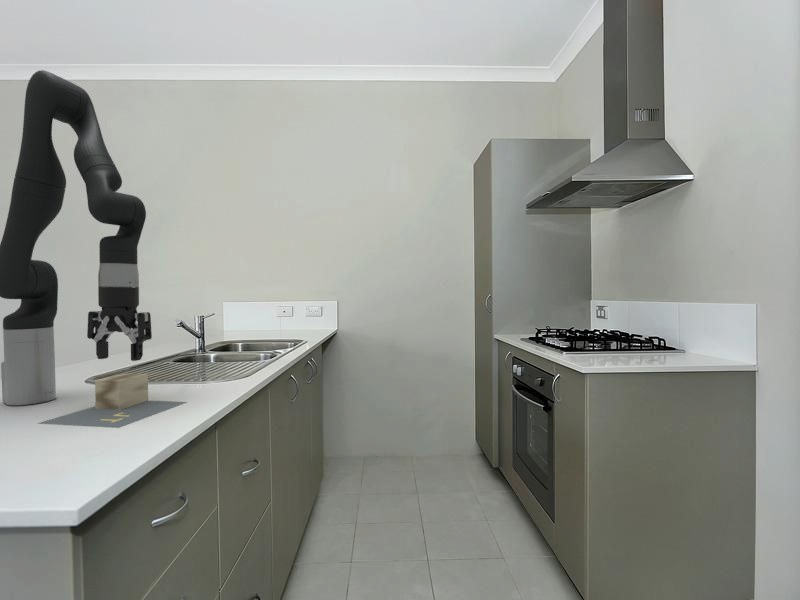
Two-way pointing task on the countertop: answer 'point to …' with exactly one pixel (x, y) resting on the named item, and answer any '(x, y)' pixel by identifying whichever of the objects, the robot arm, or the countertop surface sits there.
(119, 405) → the beech block
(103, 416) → the grey mat
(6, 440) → the countertop surface
